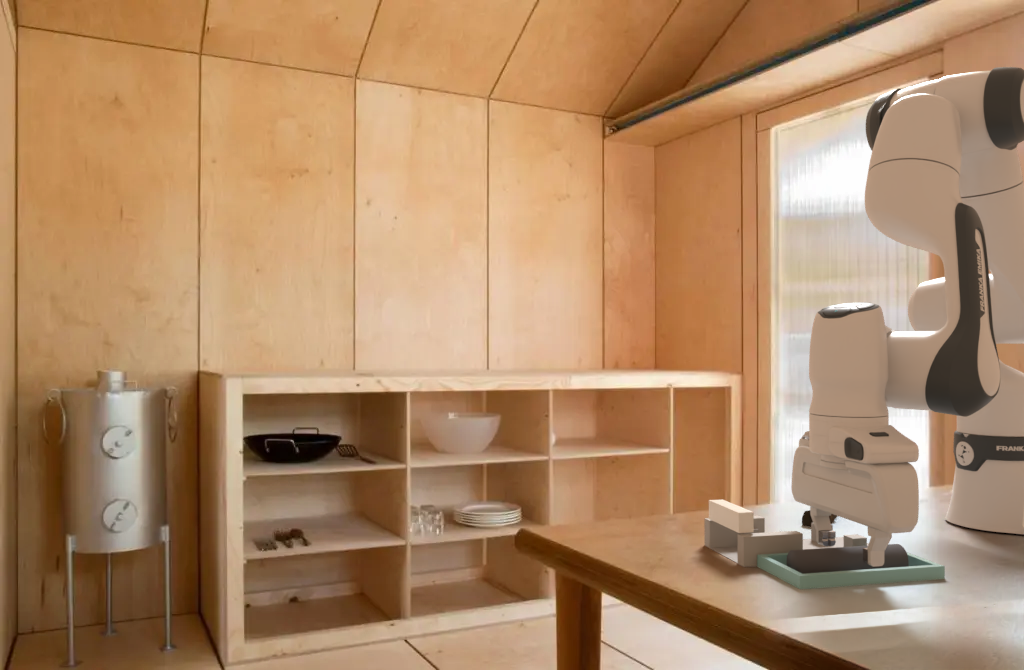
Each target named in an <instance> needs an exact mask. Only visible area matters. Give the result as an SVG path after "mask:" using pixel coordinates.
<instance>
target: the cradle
mask: <svg viewBox="0 0 1024 670" xmlns="http://www.w3.org/2000/svg"><path fill="white" fill-rule="evenodd" d="M765 520H766V519H765V517H763V516H760V515H754V532H748V533H738V532H736V531H733V530H731V529H729V528H727V527H725V526H723V525H721V524H719V523H716V522H714V521H712V520H710V519H709V517H706V518H705V517H704V526H703V527H704V546H705V547H706V548H709V549H710V550H712V551H713V552H716V553H717V554H719V555H721V556H723V557H725V558H726V559H729V561H732V562H734V563H736V564H737V565H738V566H741V567H742V568H750V567H751V568H752V567H757V555H760V554H776V553H789V551H791V550H804V549H821V548H837V547H854V546H868V545H869V542H868V538H867V537H866V536H863V535H860V534H858V533H857V534H855V533H854V534H844V535H843V536H837V537H835V540H836V543H835V545H834V546H823V545H820V544H818V543H817V541H816V529H815V526H814V523H811V527H810V529H811V530H810V533H811V535H810V536H811V537H810V538H805V539H804V534H803V533H802V532H800V531H797V530H788V531H787V530H786V531H785V530H784V531H770V532H765V531H766V530H765V529H766V528H765V525H766V521H765ZM833 527H834V526H833V524H831V528H832V530H833ZM833 531H834V530H833Z"/></svg>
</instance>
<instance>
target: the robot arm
mask: <svg viewBox="0 0 1024 670" xmlns="http://www.w3.org/2000/svg"><path fill="white" fill-rule="evenodd" d="M865 119H866V120H865V135H866V136H865V137H866V140H867V143H868V147H869V149H870V150H871V151H872V152H871V155H870V160H869V163H868V164H869V165H868V170H867V176H866V182H865V189H864V209H865V213H866V215H867V218H868V219H869V220H870V223H871V224H872V225H873V227H875V229H877V230H878V231H879V232H880V234H881V233H882V235H884V236H886V237H888V238H889V239H891V240H893V241H895V242H897V243H900V244H902V245H906V246H907V247H910V248H914V249H918V250H921V251H925V252H928V253H931V254H934V255H936V256H938V257H939V258H940V260H941V261H942V264H943V272H944V273H943V275H944V276H941V277H938V278H932V279H930V280H925V281H923V282H921V283H919V284H918V285H917V286H916V287H915V289H914V290H913V292H912V293H911V295H910V298H909V301H908V304H907V316H908V320H909V323H910V325H911V327H912V329H913V331H912V330H903V331H902V330H901V331H900V330H893V329H892V327H888V325H886V324H885V316H884V312H883V309H882V307H881V305H879V304H876V303H872V302H866V301H864V302H863V301H862V302H859V301H858V302H845V303H837V304H832V305H827V306H824V307H823V308H821V309H820V310H819V311H817V312H816V314H815V316H814V320H813V323H812V328H811V335H810V341H809V360H808V362H809V363H808V375H809V376H808V377H809V378H808V379H809V381H810V385H811V388H812V400H811V403H810V405H809V410H808V411H809V413H808V417H809V421H808V424H809V425H808V426H809V429H808V431H807V430H806V431H805V432H804V434H803V435H802V436H801V438H799V440H798V447H797V448H796V449H795V452H794V455H793V461H792V463H793V464H792V473H791V493H792V497H793V500H794V501H795V502H798V503H801V504H803V505H806V506H809V507H810V508H809V510H810V515H811V518H812V521H813V523H814V526H815V529H816V541H817V543H818V544H820V545H823V546H834V545H835V543H836V540H835V537H836V534H837V533H836V530H835V531H834V530H832V528H831V525H832V523H830V519H829V516H831V514H834V515H837V517H839V518H843V519H845V520H849V521H851V522H855V523H857V524H860V525H863V526H866V527H867V535H868V536H869V537H870V539H869V542H868V544H869V545H868V548H863V562H864V563H866V564H868V565H871V566H873V567H875V566H882V565H883V564H884V550H886V548H887V546H888V544H890V542H891V539H892V537H893V536H892V535H893V534H904V533H910V532H913V531H914V529H915V528H916V526H917V524H918V522H919V513H920V512H919V509H920V508H919V507H920V503H919V502H920V501H919V500H920V496H919V495H920V494H919V493H920V491H919V477H918V473H917V470H916V469H915V467H914V466H913V464H912V463H916V462H918V461H919V456H920V455H919V454H920V453H919V450H920V449H919V446H918V445H917V443H916V442H915V441H914V440H912V439H910V438H909V437H907V436H905V434H903V433H902V432H900V431H899V430H898V429H896V428H895V426H893V425H891V424H889V423H890V421H889V409H888V408H893V409H899V410H900V409H901V410H902V409H903V410H914V411H915V410H917V411H932V412H934V413H939V414H944V415H952V416H956V430H955V431H953V441H952V443H953V447H952V448H953V449H952V450H953V456H954V461H955V469H954V476H953V483H952V488H951V489H952V491H951V495H950V499H949V500H950V501H949V503H948V504H949V505H948V509H947V511H946V514H945V518H944V520H946V521H947V522H949V523H951V524H954V525H957V526H961V527H965V528H969V529H974V530H980V531H986V532H993V533H995V532H996V533H1003V534H1004V533H1006V534H1016V535H1024V372H1023V371H1021V370H1018V369H1016V368H1014V367H1012V366H1010V365H1007V364H1006V363H1004V362H1003V361H1002V360H1001V359H1000V358H999V352H998V348H997V344H998V345H999V344H1002V345H1003V344H1008V345H1009V344H1012V345H1013V344H1016V345H1019V344H1021V345H1023V344H1024V177H1023V170H1022V169H1023V168H1022V163H1021V159H1020V155H1019V151H1018V148H1017V147H1018V146H1019V144H1020V143H1022V142H1024V69H1023V68H1022V67H1017V66H1016V67H1015V66H1003V67H1002V66H1001V67H994V68H992V69H991V70H982V71H981V70H980V71H971V72H965V73H957V74H951V75H946V76H942V77H941V78H939V79H938V78H937V79H934V80H930V81H925V82H921V83H918V84H915V85H913V86H908V87H906V88H897V89H893V90H890V91H888V92H885V93H884V94H881V95H880V96H878V97H877V98H876V99H875V100H874V101H873V103H872V104H871V106H870V107H869V109H868V111H867V114H866V118H865Z"/></svg>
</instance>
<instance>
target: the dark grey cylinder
mask: <svg viewBox="0 0 1024 670" xmlns="http://www.w3.org/2000/svg"><path fill="white" fill-rule="evenodd" d="M863 548H868V546H854V547H837V548H821V549H804V550H791V551H789V553H788V555H787V561H786V563H787V566H788V567H790V568H792V569H794V570H796V571H798V572H800V573H802V574H806V573H821V572H835V571H850V570H864V569H879V568H893V567H908V565H909V560H908V555H907V551H906V549H905V548H904V546H903V545H901V544H898V543H889V544H888V546H887V548H886V550H884V564H883V565H882V566H875V567H873V566H871V565H868V564H866V563H864V562H863Z"/></svg>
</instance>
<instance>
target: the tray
mask: <svg viewBox="0 0 1024 670" xmlns="http://www.w3.org/2000/svg"><path fill="white" fill-rule="evenodd" d="M906 552H907V551H906ZM787 555H788V553H776V554H760V555H757V566H756V567H757V568H759V569H761V570H763V571H765V572H767V573H768V574H771V576H772V575H773V576H774V577H776V578H778V579H779V580H782V581H783V582H785V583H787V584H789V585H790V586H793V587H795V588H797V589H798V590H807V589H808V590H809V589H810V590H811V589H820V588H823V589H824V588H837V587H849V586H850V587H851V586H863V585H877V584H889V583H892V584H894V583H903V582H904V583H906V582H918V581H931V580H932V581H934V580H944V579H946V578H945V576H946V574H945V572H946V571H945V570H946V568H945V566H946V565H943V564H941V563H938V562H934V561H933V560H929V559H926V558H924V557H921V556H919V555H916V554H913V553H910V552H907V555H908V560H909V565H908V567H893V568H879V569H864V570H850V571H835V572H821V573H806V574H802V573H800V572H798V571H796V570H794V569H792V568H790V567H788V566H787V563H786V561H787Z"/></svg>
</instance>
